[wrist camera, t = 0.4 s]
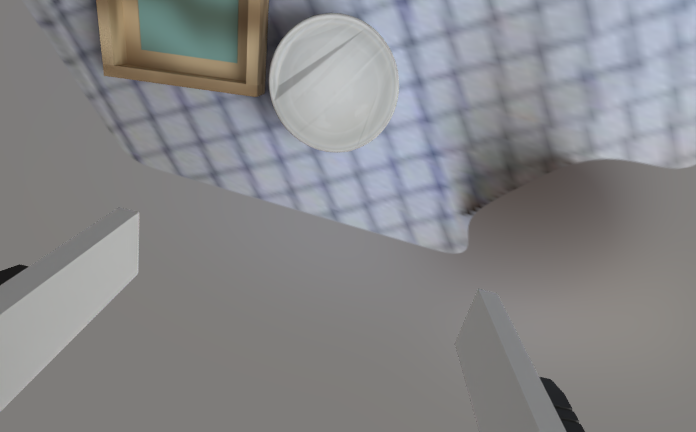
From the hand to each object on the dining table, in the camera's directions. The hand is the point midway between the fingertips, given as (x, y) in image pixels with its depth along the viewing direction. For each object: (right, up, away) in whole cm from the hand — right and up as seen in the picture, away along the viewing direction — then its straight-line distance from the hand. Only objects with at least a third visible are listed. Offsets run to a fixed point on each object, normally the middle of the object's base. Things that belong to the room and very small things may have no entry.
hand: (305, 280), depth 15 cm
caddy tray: (-13, +22, +21) cm, 33 cm away
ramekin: (+1, +15, +23) cm, 28 cm away
